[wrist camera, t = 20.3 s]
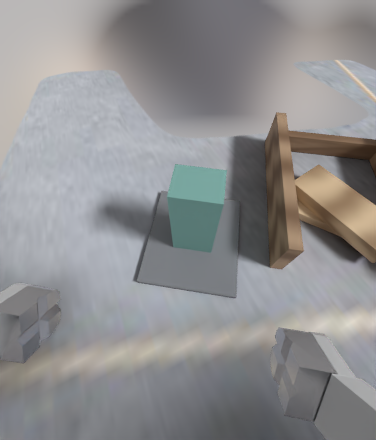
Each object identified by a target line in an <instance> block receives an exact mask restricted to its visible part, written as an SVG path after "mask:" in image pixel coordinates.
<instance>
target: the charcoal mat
mask: <svg viewBox="0 0 376 440" xmlns="http://www.w3.org/2000/svg"><path fill="white" fill-rule="evenodd" d="M167 195H168V192H166V191H161V195H160V199H159V202H158V206H157V210H156V213H155V217H154V220H153V224H152V228H151V231H150V235H149V238H148V242H147V246H146V249H145V253H144V257H143V260H142V264H141V267H140V271H139V275H138V278H137V282H138V283H144V284H150V285H156V286H163V287H169V288H175V289H181V290H187V291H193V292H200V293H206V294H212V295H218V296H224V297H231V298H236V290H237V265H238V239H239V214H240V201H235V200H228V199H224V205H223V209H222V213H221V217H220V221H219V224H218V228H217V232H216V236H215V240H214V243H213V247H212V251H211V253H209V252H202V251H195V250H189V249H182V248H175V247H173V241H172V233H171V225H170V217H169V209H168V201H167Z"/></svg>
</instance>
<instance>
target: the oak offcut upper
mask: <svg viewBox="0 0 376 440" xmlns="http://www.w3.org/2000/svg"><path fill="white" fill-rule="evenodd" d="M295 187H296V195H297V200H298V201H299V202H301V203H302V204H303V205H304V206H305V207H307V208H308V209H309V210H310V211H311V212H312V213H314V214H315V215H316V216H317V217H318V218H320V219H321V220H322V221H323V222H324V223H325V224H327V225H328V226H329V227H330V228H331V229H333V230H334V231H335V232H336V233H337V234H339V235H340V236H341V237H342V238H343V239H344V240H346V241H347V242H348V243H349V244H350V245H352V246H353V247H354V248H355V249H356V250H357V251H359V252H360V253H361V254H362V255H363V256H365V257H366V258H367V259H368V260H369V261H370V262H372V263H375V262H376V205H374V204H373V203H372V202H370V201H369V200H367V199H366V198H365V197H363V196H362V195H361V194H359V193H358V192H356V191H355V190H354V189H352V188H351V187H349V186H348V185H347V184H345V183H344V182H342V181H341V180H340V179H338V178H337V177H336V176H334V175H333V174H331V173H330V172H329V171H327V170H326V169H324V168H323V167H322V166H320V165H317V166H316V167H314V168H313V169H311V170H310V171H308V172H306V173H305V174H303V175H302V176H300V177H299V178H297V179H296V180H295Z"/></svg>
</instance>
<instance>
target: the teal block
mask: <svg viewBox="0 0 376 440" xmlns="http://www.w3.org/2000/svg"><path fill="white" fill-rule="evenodd" d="M226 173H227V170H219V169H211V168H203V167H194V166H186V165H178V164H175V167H174V171H173V175H172V179H171V183H170V187H169V191H168V195H167V201H168V209H169V217H170V225H171V233H172V241H173V247H175V248H182V249H189V250H195V251H202V252H209V253H211V251H212V247H213V243H214V240H215V236H216V232H217V228H218V224H219V221H220V217H221V213H222V209H223V205H224V196H225V184H226Z"/></svg>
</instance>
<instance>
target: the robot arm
mask: <svg viewBox="0 0 376 440" xmlns="http://www.w3.org/2000/svg"><path fill="white" fill-rule="evenodd" d="M59 301H60V292H59V291H58V290H57V289H52V288H46V287H41V286H36V285H30V284H25V283H15V284H13V285H12V286H10V287H8V288H7V289H5V290H3V291H2V292H0V360H5V361H12V362H18V363H25V362H26V361H27V359H28V358H29V357H30V356H31V355H32V354H33V353H34V352H35V351H36V350H37V349H38V348H39V347H40V341H41V340H44V339H46V338H48V337H50V335H51V334H52V333H53V332H54V331H55V330H56V328H57V326H58V324H59V322H60V317H61V310H60V308H59V307H58V305H57V303H58V302H59ZM275 338H276V341H277V344H276V345H275V346H274V347H272V351H271V357H270V365H271V372H272V375H273V379H274V380H275V381H276V382H277V383H278V384H279V389H278V396H279V399H280V403H281V406H282V409H283V412H284V415H285V416H289V417H293V418H298V419H302V420H306V421H311V422H314V425H315V426H316V427H317V429H318V430H319V431H320V432H321V434H322V435H323V436H324V438H325V439H326V440H376V389H374V388H373V387H372V386H370V385H369V384H368V383H366V382H365V381H364V380H362V379H359V378H356V377H355V375H354V374H353V372H352V371H351V370H350V368H349V367H348V365H347V364H346V362H345V361H344V359H343V358H342V357H341V355H340V354H339V352H338V351H337V349H336V348H335V346H334V345H333V344H332V342H331V341H330V339H329V338H328V337H327V336H326V335H325V334H320V333H313V332H303V331H297V330H291V329H285V328H278V330H277V332H276V335H275Z"/></svg>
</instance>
